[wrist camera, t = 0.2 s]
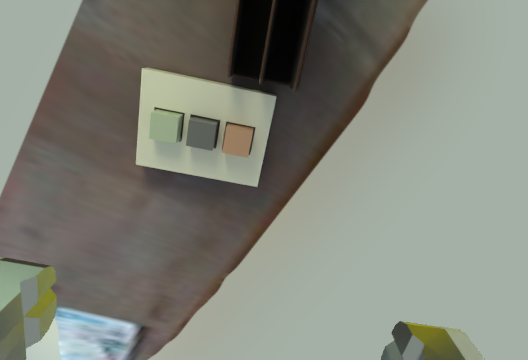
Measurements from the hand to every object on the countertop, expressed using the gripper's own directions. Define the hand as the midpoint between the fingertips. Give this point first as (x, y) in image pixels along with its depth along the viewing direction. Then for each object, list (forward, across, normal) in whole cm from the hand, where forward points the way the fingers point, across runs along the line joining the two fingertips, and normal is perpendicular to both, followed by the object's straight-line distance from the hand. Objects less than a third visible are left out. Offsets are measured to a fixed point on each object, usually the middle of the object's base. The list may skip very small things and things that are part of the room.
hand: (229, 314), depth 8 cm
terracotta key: (+44, +1, +7) cm, 45 cm away
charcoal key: (+44, +7, +7) cm, 45 cm away
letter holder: (+48, 0, -12) cm, 49 cm away
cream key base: (+47, +7, +7) cm, 48 cm away
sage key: (+44, +13, +7) cm, 46 cm away
